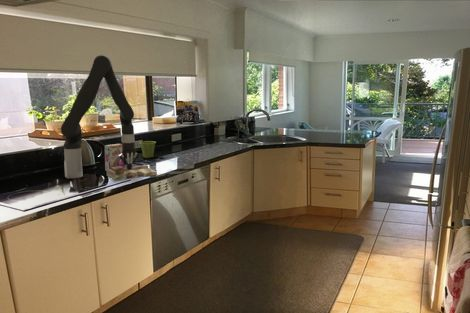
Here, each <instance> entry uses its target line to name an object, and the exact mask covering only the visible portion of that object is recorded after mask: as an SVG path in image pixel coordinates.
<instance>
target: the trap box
mask: <svg viewBox="0 0 470 313" xmlns="http://www.w3.org/2000/svg"><path fill="white" fill-rule="evenodd" d="M106 169H107V171H106V176H107V177H109V178H110V179H111V178H112V179H111V180H113V181H121V180H128V179H134V178H136V179H137V178H143V177H151V176H157V175H158V174H157V171H156V170H154V169H152V168H149V165H148V164H146V165H139V166H138V165H137V166H132V169H131V170H128V169H127V167H124V173H123V174H116V172H114V171H112V170H111V169H109V168H106Z"/></svg>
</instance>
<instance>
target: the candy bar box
mask: <svg viewBox="0 0 470 313" xmlns="http://www.w3.org/2000/svg"><path fill="white" fill-rule="evenodd" d="M121 153H122V143H115V144H114V143H113V144H105V145H104V168H105V169H104V170H105V171H106V172H107V169H106V168H109V169H111V167H115V166H122V167H124V168H125V163H124V162H123V161H122V160H121V159H120V158H119V157H118V155H120V154H121ZM123 158H124V159H125V157H124V156H123Z"/></svg>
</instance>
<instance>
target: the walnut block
mask: <svg viewBox="0 0 470 313" xmlns="http://www.w3.org/2000/svg"><path fill="white" fill-rule="evenodd" d="M124 168H125V166H124V167H122V166H115V167H111V170H112V171H114V172H116V174H123V173H124Z"/></svg>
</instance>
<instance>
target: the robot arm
mask: <svg viewBox="0 0 470 313" xmlns="http://www.w3.org/2000/svg"><path fill="white" fill-rule="evenodd" d="M103 79H104V80H105V83H106V86H107V87H108V91H109V93H110V95H111V97H112V98H111V99H112V100H113V102H114V104H115V105H116V106H117V107H118V110H119V122H120V125H121V144H122V153H121V154H120V155H118V157H119V158H120V159H121V160H122V161H123V162H124V164H126V168H127V169H128V170H131V169H132V167H133V163H135V162H136V161H137V159H138V158H139V156H140V153H138V152H137V150H136V142H135V128H134V124H133V120H132V119H134V117H135V113H134V112H135V111H134V109H133V108H132V106H131V105H130V103H129V102H128V100H127V97H126V95H125V93H124V91H123V89H122V87H121V85H120V83H119V81H118V80H117V76H116V75H115V71H114V69H113V64H112V61H111V58H110V57H109V56H108V55H106V54H99V55H97V56H96V57H95V58H94V59H93V62H92V65H91V69H90V72H89V74H88V76H87V78H85V80H84V82H83V84H82V85H81V87H80V89H79V91H78V93H77V95H76V97H75V99H74V102H73V104H72V106H71V109H70V110H69V113H68V115H67V116H66V117H65V120H64V121H63V122H62V124H61V127H60V132H61V135H62V136H64V137H65V140H64V143H63V151H64V152H63V155H64V161H63V163H64V164H63V165H64V177H65V178H66V179H80V178H82V177H83V176H84V175H83V173H84V172H83V161H82V159H83V158H82V157H83V156H82V142H83V140H82V139H83V137H82V136H83V135H82V134H83V133H82V127H81V124H80V123H81V121H82V119H83V117H84V116H85V114H86V113H87V112H88V111H89V109H90V108H91V106H92V105H93V103H94V101H95V99H96V97H97V95H98V92H99V89H100V86H101V84H102V81H103ZM123 156H124V158H123Z"/></svg>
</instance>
